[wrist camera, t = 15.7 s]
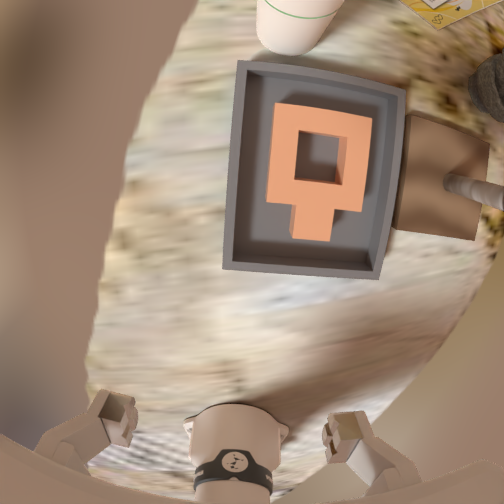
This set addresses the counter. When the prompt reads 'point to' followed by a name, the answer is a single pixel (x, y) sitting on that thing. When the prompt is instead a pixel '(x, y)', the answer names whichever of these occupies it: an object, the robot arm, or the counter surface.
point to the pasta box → (446, 10)
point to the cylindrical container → (293, 23)
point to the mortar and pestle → (489, 87)
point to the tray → (309, 173)
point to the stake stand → (443, 181)
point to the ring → (309, 190)
